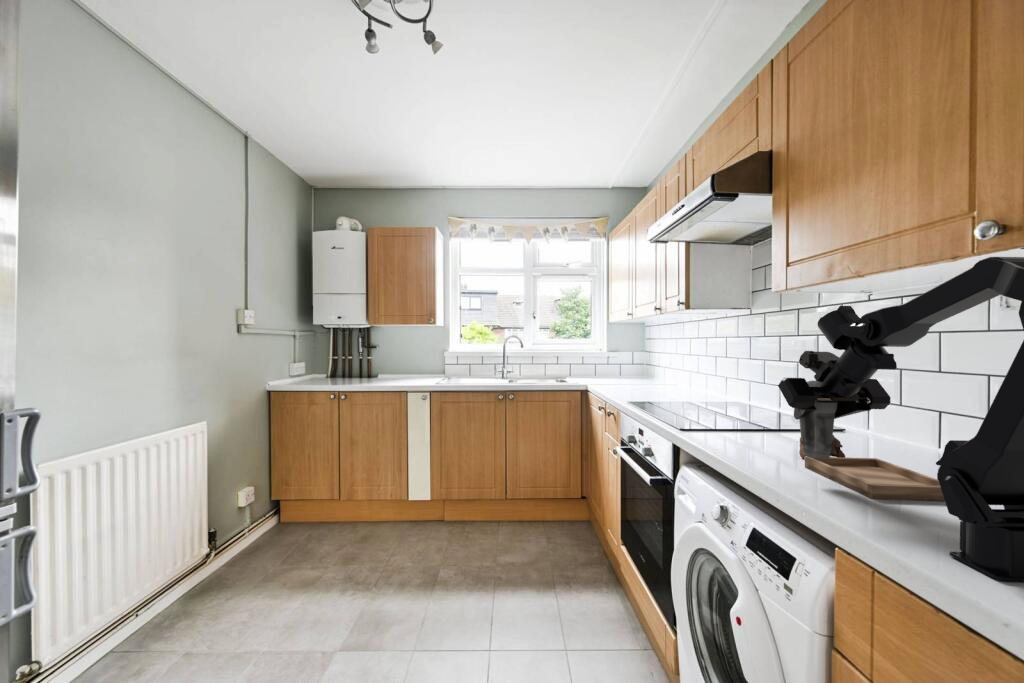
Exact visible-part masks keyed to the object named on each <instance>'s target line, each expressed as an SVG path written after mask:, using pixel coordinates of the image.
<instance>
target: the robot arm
mask: <svg viewBox="0 0 1024 683" xmlns="http://www.w3.org/2000/svg"><path fill="white" fill-rule="evenodd" d="M999 296H1003V297H1005V298H1009V299H1013V300H1016V301H1020V305H1019V309H1018V316H1019V319H1020V322H1021V326H1022V329H1023V331H1024V256H989V257H985V258H984V259H980V260H978V261H977V262H976V263H975V264H974V265H973V266H972V267H971V268H968V269H966V270H965V271H963V272H961V273H959V274H958V275H957V274H956V276H954V277H951V278H950V279H947V280H945V281H944V282H942V283H940V284H939V285H937V286H935V287H933V288H931V289H929V290H927V291H925V292H924V293H921V294H920V295H918V296H916V297H915V298H914V297H913V298H912V299H911V300H908V301H907V302H905V303H901V304H898V305H892V306H888V307H883V308H878V309H876V310H872V311H869V312H867V313H865V314H863V315H862V316H861V317H860V316H858V314H857V313H856V311H855V309H854V308H853V307H852V305H839V306H838V307H837V309H835V310H832V311H830V312H828V313H826V314H824V315H823V316H821V317H819V319H818V321H817V327H818V329H819V330H820V331H821V333H822V334H823V336H824V337H825V338H826V340H827V341H828V342H829V344H830V345H831V347H832V348H833V349H835V350H839V351H842V350H843V352H842V354H841V355H840V356H838V355H836V354H835V353H833V352H830V351H814V350H804V351H803V352H802V353H801V355H800V357H799V359H798V363H799V365H801V366H802V367H803V368H805V369H809V370H810V371H812V372H813V373H815V375H813V378H814V380H815V381H819V382H820V384H819V387H810V386H809V385H808V383H807V382H808V381H807V380H806V379H805V377H782V379H781V380H780V382H779V383H778V385H777V387H778V388H779V390H780V392H781V393H782V396H783V398H784V399H785V401H786V403H787V404H788V406H789V407H791V408H792V409H793V417H794V419H795V420H798V421H799V419H800V418H802V417H804V416H806V415H808V414H809V413H811V412H813V411H815V410H816V407H815V406H814V404H815V402H816V401H817V399H831V400H832V401H838V402H837V409H836V412H835V418H834V420H836V419H839V418H845V417H847V416H850V415H851V416H852V415H855V414H859V413H863V412H870V411H871V410H885V409H887V407H888V406H889V405H891V400H892V399H891V396H890V394H889V393H888V392H887V390H885V388H884V387H883V386H882V383H880V382H879V380H878V379H877V378H872V377H873V376H874V375H875V373H877V372H878V370H884V371H885V370H886V371H887V370H889V371H891V370H892V371H893V370H894V371H895V370H896V369H897V368H898V367H897V366H898V365H897V361H896V360H895V354H894V353H889V352H888V350H886V348H885V347H891V348H893V347H894V348H896V347H897V348H906V347H910V346H912V345H914V344H915V343H916V342H918V341H919V340H921V339H922V338H924V337H925V336H927V335H928V333H929V330H930V328H931V327H934V326H935V325H936V324H938V323H940V322H943V321H946V320H947V319H950V318H952V317H954V316H956V315H959V314H960V313H963V312H965V311H968V310H970V309H972V308H974V307H976V306H978V305H981V304H983V303H986V302H988V301H989V300H992V299H994V298H997V297H999ZM935 465H936V466H939V468H938V469H937V474H936V479H937V480H938V481H939V483H940V487H941V490H942V493H943V496H944V499H945V501H944V502H945V505H946V508H947V512H948V514H949V515H952V516H954V517H956V518H957V519H958V520H959V521H960V522H959V550H960V551H955V550H954V551H953V550H951V551H949V556H950V557H952V558H954V559H957V561H960V562H962V563H964V564H965V565H968V566H970V567H972V568H974V569H976V570H977V571H979V572H981V573H983V574H985V575H987V576H989V577H991V578H992V579H995V580H998V581H1002V582H1003V581H1004V582H1024V339H1023V341H1022V342H1021V344H1020V346H1019V349H1018V350H1017V353H1016V355H1015V357H1014V359H1013V361H1012V363H1011V364H1010V367H1009V368H1008V371H1007V372H1006V375H1005V377H1004V379H1003V381H1002V382H1001V385H1000V387H999V389H998V390H997V392H996V395H995V397H994V398H993V400H992V402H991V405H990V407H989V409H988V411H987V412H986V414H985V417H984V418H983V421H982V423H981V424H980V427H979V429H978V431H977V433H976V434H975V436H973V437H972V438H971V439H969V440H963V439H962V440H958V439H957V440H955V439H954V440H948V441H947V442H946V444H945V445H944V450H943V453H942V456H941V458H940V459H939V460H938V461H936V462H935ZM991 506H1003V508H997V509H996V508H992V507H991Z"/></svg>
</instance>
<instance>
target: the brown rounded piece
mask: <svg viewBox="0 0 1024 683" xmlns="http://www.w3.org/2000/svg"><path fill="white" fill-rule="evenodd" d="M841 448H843V445H842V444H841V441H840V440H839V439H838V438H836V437H835V436H834V434H833V436H832V445H831V451H830V457H842V458H846V454H845V452H843V450H842V449H841ZM798 451H799V453H798V454H799V456H800V458H801V459H802V460H805V457H806V456H804V455H803V449H802V442H801V436H800V437H799V450H798Z"/></svg>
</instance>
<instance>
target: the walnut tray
mask: <svg viewBox="0 0 1024 683" xmlns="http://www.w3.org/2000/svg"><path fill="white" fill-rule="evenodd" d="M804 468H805V469H808V470H810V471H811V472H813V473H815V474H817V475H819V476H823V477H824V478H826V479H829V480H831V481H833V482H835V483H837V484H839V485H841V486H842V487H843V486H844V487H845V488H848V489H850V490H852V491H854V492H856V493H858V494H860V495H862V496H865V497H867V498H869V499H871V500H898V501H899V500H900V501H931V502H932V501H934V502H945V499H944V496H943V493H942V490H941V487H940V483H939V481H938V479H937V478H935V477H931V476H928V475H925V474H923V473H920V472H916V471H914V470H911V469H908V468H906V467H903V466H899V465H897V464H893V463H891V462H888V461H885V460H882V459H880V458H875V457H874V458H873V457H871V458H870V457H845V458H842V457H833V456H830V458H829V459H818V458H811V457H807V456H805V458H804Z"/></svg>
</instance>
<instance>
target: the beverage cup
mask: <svg viewBox="0 0 1024 683" xmlns="http://www.w3.org/2000/svg"><path fill="white" fill-rule="evenodd" d="M806 382H807V383H808V385H809V386H810V387H819V384H820V382H819V381H816V380H809V381H806ZM837 402H838V401H832V400H831V399H817V401H816V402H815V404H814V406H815V407H816V410H815V411H813V412H811V413H809V414H808V415H806V416H804V417H802V418H800V419H798V421H799V430H800V437H801V442H802V449H803V455H804V456H805V457H811V458H818V459H829V458H830V457H831V456H830V451H831V445H832V436H833V435H834V426H835V419H834V418H835V412H836V409H837Z"/></svg>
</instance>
